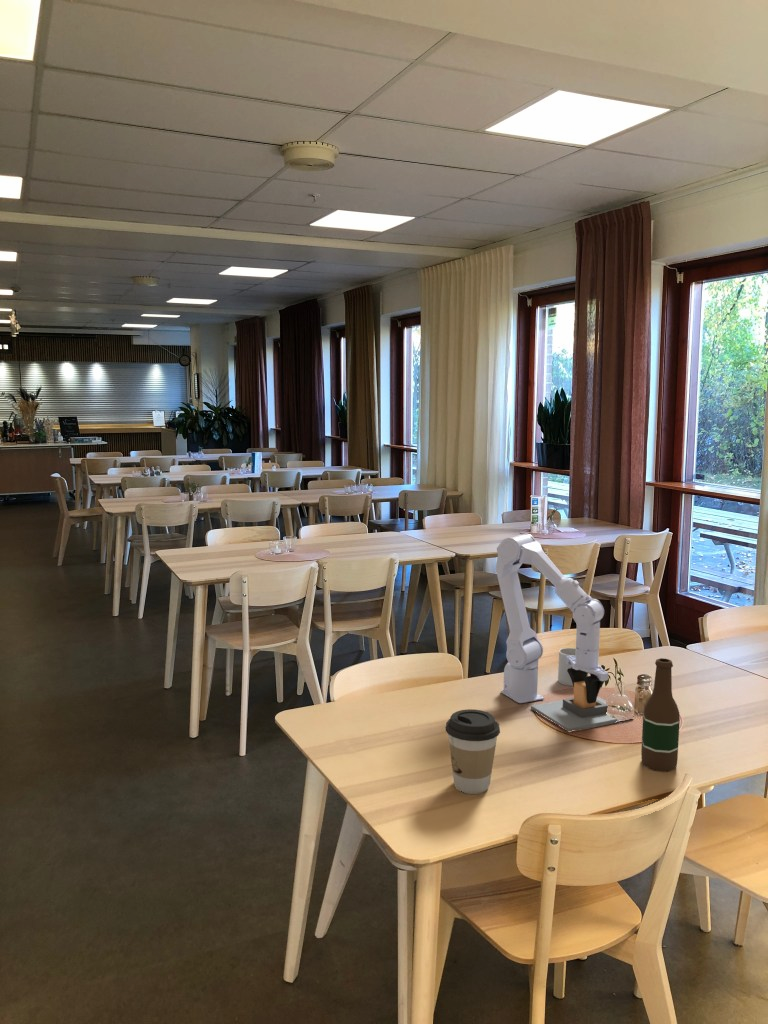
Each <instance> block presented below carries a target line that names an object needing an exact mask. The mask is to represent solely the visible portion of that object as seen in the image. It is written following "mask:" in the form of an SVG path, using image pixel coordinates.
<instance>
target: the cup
mask: <svg viewBox="0 0 768 1024" xmlns="http://www.w3.org/2000/svg"><path fill="white" fill-rule="evenodd" d="M567 656H574V657H576V647H575V648H574V647H565V648H564V647H563V648H560V649H559V650H558V667H557V669H558V670H557V671H558V672H557V673H558V674H557V675H558V676H557V679H558V682H559V684H561V685H564V686H568V687H573V683H572V680H571V678H570V675H569V674H568V672H567V669H569V668H571V667H572V665H571V664H570V665H568V664H566V657H567ZM587 676H589V673H588V674H587Z"/></svg>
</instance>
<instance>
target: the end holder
mask: <svg viewBox="0 0 768 1024" xmlns="http://www.w3.org/2000/svg"><path fill="white" fill-rule="evenodd" d="M606 701H607V700H605V699H603V698H602V697H600V696H599V695H598V696H597V699H596V706H593V707H588V708H581V707H580V706H578V705H576V704H574V703H573V702H574V697H570V698H563V699H560V700H554V701H548V702H543V703H538V704H532V705H530V710H532V711H533V710H534V711H533V712H535V711H537V712H538V713H540V714H542V715H543V716H545V717H547V718H548V719H550V720H552V721H553V722H555V723H556V724H558V725H560V726H561V727H563V728H564V729H566V730H567V731H572V730H579V729H584V730H588V729H593V728H597V727H603V726H609V725H611V724H616V723H615V722H616V721H617V719H615V718H612V717H610V716H609V715H607V714H606V712H607V708H608V705H606ZM538 713H537V714H538ZM632 715H633V717H634V718H635V715H634V714H632ZM543 716H542V717H543ZM548 719H547V720H548ZM556 724H555V725H556ZM564 729H563V730H564ZM567 731H566V732H567ZM579 731H580V730H579Z"/></svg>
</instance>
